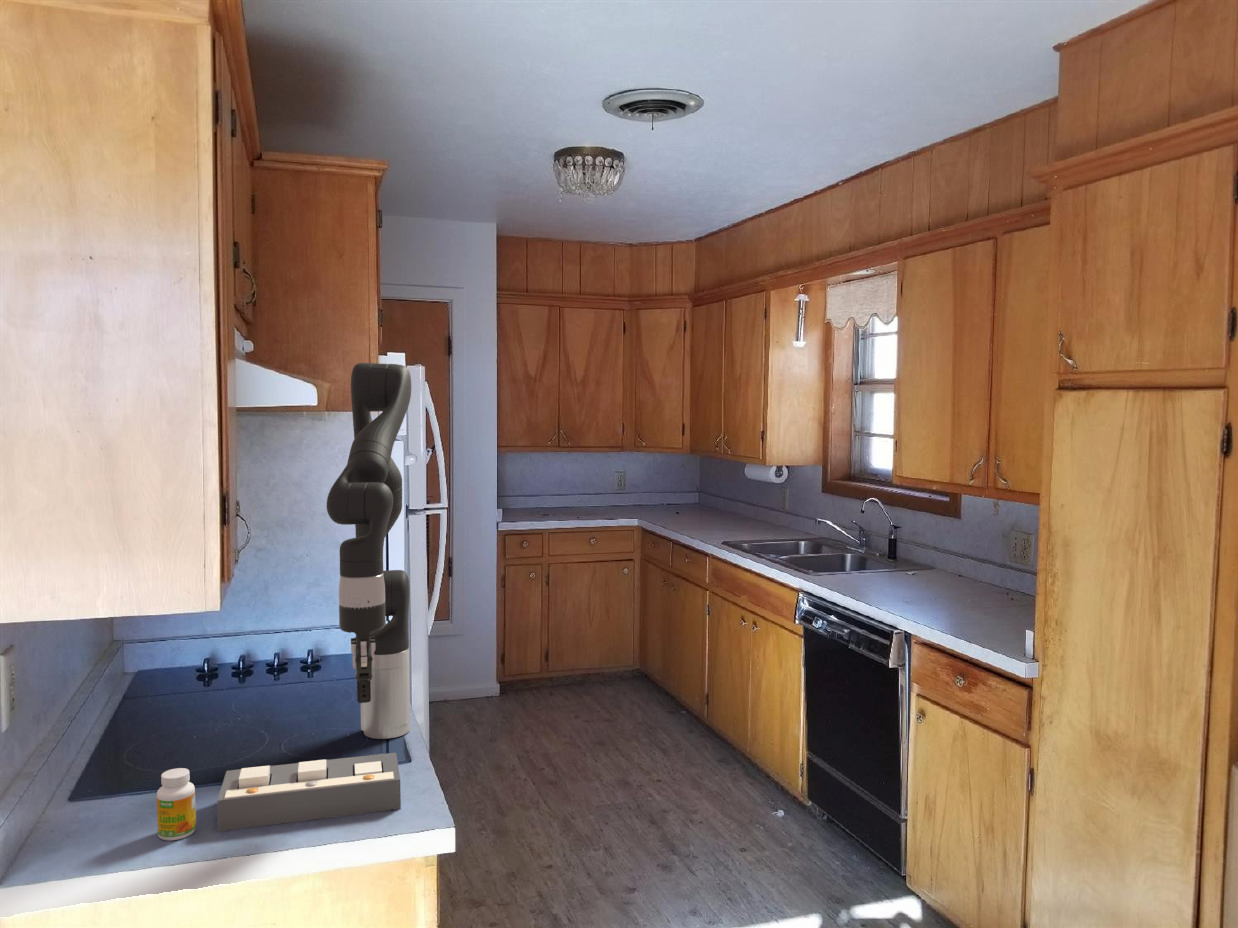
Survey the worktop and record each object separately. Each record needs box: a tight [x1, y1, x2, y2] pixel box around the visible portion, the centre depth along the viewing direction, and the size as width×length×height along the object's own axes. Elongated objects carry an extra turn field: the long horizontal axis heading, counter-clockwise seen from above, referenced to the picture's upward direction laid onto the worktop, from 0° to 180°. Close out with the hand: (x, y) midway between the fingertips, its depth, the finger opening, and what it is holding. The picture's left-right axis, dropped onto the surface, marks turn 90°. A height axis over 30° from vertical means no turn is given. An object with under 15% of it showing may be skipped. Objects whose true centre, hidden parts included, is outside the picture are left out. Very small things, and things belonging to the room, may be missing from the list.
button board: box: [216, 752, 402, 833], centre depth 152 cm, size 28×12×5 cm, turn 107°
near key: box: [239, 764, 271, 789], centre depth 149 cm, size 4×4×3 cm
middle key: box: [298, 759, 327, 782], centre depth 152 cm, size 4×4×3 cm
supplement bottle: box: [156, 767, 197, 842], centre depth 142 cm, size 5×5×10 cm
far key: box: [355, 761, 382, 776], centre depth 155 cm, size 4×4×3 cm
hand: (364, 701), depth 154 cm, fingers closed
